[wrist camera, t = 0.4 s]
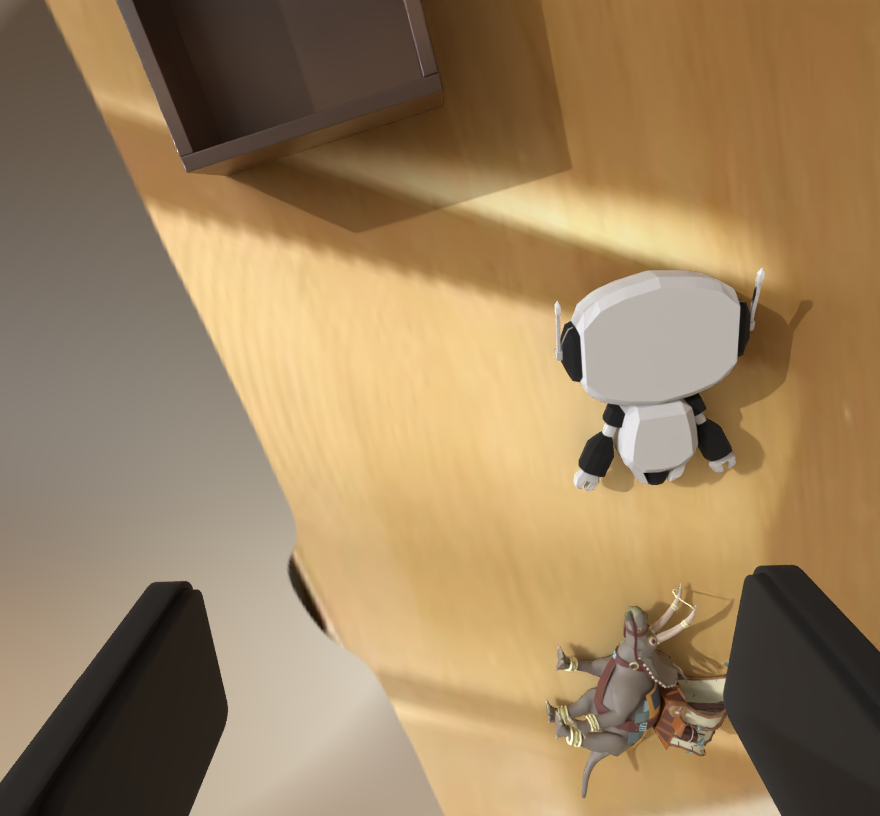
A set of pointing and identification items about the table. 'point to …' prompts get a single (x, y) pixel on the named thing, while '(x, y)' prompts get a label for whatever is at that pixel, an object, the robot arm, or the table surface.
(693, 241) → the table surface
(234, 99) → the crate
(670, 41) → the table surface
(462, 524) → the table surface
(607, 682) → the figurine
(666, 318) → the robot toy
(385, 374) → the table surface
